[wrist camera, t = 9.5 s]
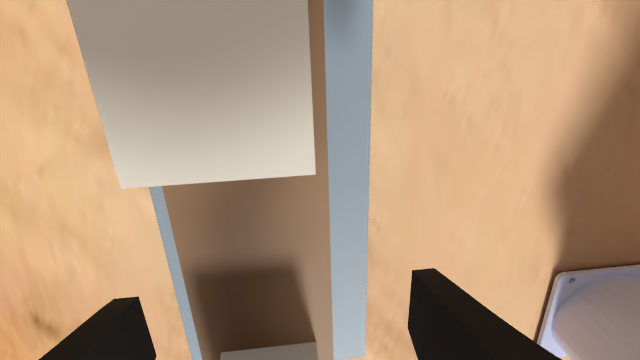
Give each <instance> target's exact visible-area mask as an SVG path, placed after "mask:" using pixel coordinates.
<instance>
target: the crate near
mask: <svg viewBox="0 0 640 360" xmlns="http://www.w3.org/2000/svg"><path fill="white" fill-rule="evenodd" d="M66 1H67V4H68V8H69V11H70V15H71V18H72V22H73V25H74V29H75V32H76V36H77V39H78V43H79V46H80V50H81V53H82V56H83V60H84V63H85V67H86V70H87V74H88V77H89V81H90V84H91V88H92V91H93V95H94V98H95V102H96V105H97V108H98V112H99V115H100V119H101V122H102V126H103V129H104V133H105V136H106V140H107V143H108V147H109V150H110V154H111V157H112V161H113V164H114V167H115V171H116V174H117V178H118V181H119V185H120V188H121V189H126V188H140V187H153V186H167V185H181V184H194V183H208V182H222V181H236V180H249V179H263V178H277V177H290V176H304V175H316V169H315V148H314V126H313V105H312V83H311V62H310V40H309V19H308V0H66Z"/></svg>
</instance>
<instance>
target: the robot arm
mask: <svg viewBox="0 0 640 360" xmlns="http://www.w3.org/2000/svg"><path fill="white" fill-rule="evenodd" d="M408 330H409V333H410V336H411V339H412V343H413V346H414V349H415V352H416V355H417V357H418V360H561V359H560V358H561V357H569V358H570V359H571V360H640V265H630V266H620V267H610V268H600V269H590V270H580V271H570V272H562V273H559V274H558V275H557V276H556V277H555V280H554V284H553V287H552V291H551V294H550V298H549V301H548V305H547V308H546V312H545V315H544V319H543V323H542V326H541V330H540V333H539V337H538V340H537V343H536V342H534V341H533V340H531V339H530V338H528V337H527V336H525V335H524V334H522V333H521V332H519V331H518V330H516V329H515V328H514V327H512V326H511V325H509V324H508V323H507V322H505V321H504V320H502V319H501V318H500V317H498V316H497V315H496V314H494V313H493V312H491V311H490V310H489V309H487V308H486V307H485V306H483V305H482V304H481V303H479V302H478V301H477V300H475V299H474V298H473V297H471V296H470V295H469V294H467V293H466V292H465V291H464V290H462V289H461V288H460V287H458V286H457V285H456V284H454V283H453V282H452V281H451V280H449V279H448V278H447V277H445V276H444V275H443V274H441V273H440V272H439V271H437V270H436V269H434V268H432V269H422V270H412V281H411V294H410V306H409V318H408ZM155 359H156V353H155V349H154V346H153V343H152V339H151V336H150V333H149V330H148V326H147V323H146V320H145V316H144V313H143V310H142V307H141V303H140V300H139V297H130V298H119V299H113V300H112V301H111V302H109V303H108V304H106V305H105V306H104V307H103V308H101V309H100V310H99V311H98V312H96V313H95V314H94V315H93V316H91V317H90V318H89V319H88V320H87V321H85V322H84V323H83V324H82V325H80V326H79V327H78V328H77V329H76V330H74V331H73V332H72V333H71V334H70V335H68V336H67V337H66V338H65V339H64V340H62V341H61V342H60V343H59V344H57V345H56V346H55V347H54V348H53V349H51V350H50V351H49V352H48V353H46V354H45V355H44V356H43V357H42V358H40V359H39V360H155Z"/></svg>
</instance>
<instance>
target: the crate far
mask: <svg viewBox="0 0 640 360" xmlns="http://www.w3.org/2000/svg"><path fill="white" fill-rule="evenodd" d="M220 360H318V353H317V344H316V342H310V343H301V344H292V345H283V346H274V347H265V348H257V349H248V350H239V351H230V352H221V356H220Z"/></svg>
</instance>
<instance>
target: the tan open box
mask: <svg viewBox="0 0 640 360" xmlns="http://www.w3.org/2000/svg"><path fill="white" fill-rule="evenodd" d="M308 19H309V40H310V62H311V83H312V105H313V126H314V148H315V169H316V175H304V176H290V177H277V178H263V179H249V180H236V181H222V182H208V183H194V184H181V185H167V186H162V189H163V193H164V198H165V202H166V206H167V211H168V215H169V219H170V223H171V228H172V232H173V236H174V241H175V245H176V249H177V253H178V258H179V262H180V266H181V271H182V275H183V279H184V283H185V288H186V292H187V296H188V301H189V305H190V309H191V313H192V318H193V322H194V326H195V330H196V335H197V339H198V343H199V348H200V352H201V356H202V360H220V356H221V352H230V351H239V350H248V349H257V348H265V347H274V346H283V345H292V344H301V343H310V342H316V344H317V353H318V360H334V355H333V319H332V284H331V248H330V213H329V177H328V141H327V106H326V70H325V35H324V0H308Z"/></svg>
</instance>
